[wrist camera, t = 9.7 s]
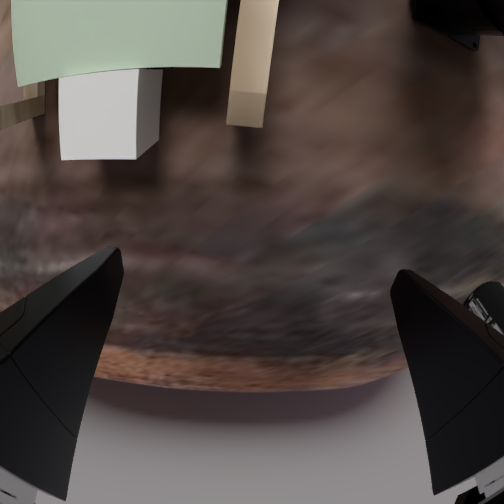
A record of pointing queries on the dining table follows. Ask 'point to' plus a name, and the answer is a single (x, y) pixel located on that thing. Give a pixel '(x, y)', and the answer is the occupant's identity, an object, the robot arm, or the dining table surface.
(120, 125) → the plain light gray cube
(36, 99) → the trapdoor frame
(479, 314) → the beverage can
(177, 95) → the dining table surface
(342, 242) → the dining table surface
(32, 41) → the trapdoor
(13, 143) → the dining table surface
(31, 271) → the dining table surface
